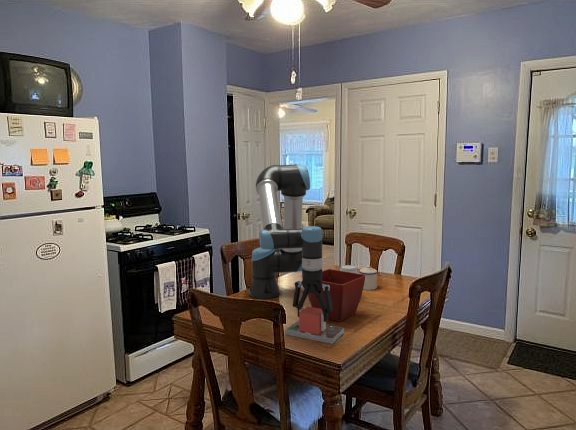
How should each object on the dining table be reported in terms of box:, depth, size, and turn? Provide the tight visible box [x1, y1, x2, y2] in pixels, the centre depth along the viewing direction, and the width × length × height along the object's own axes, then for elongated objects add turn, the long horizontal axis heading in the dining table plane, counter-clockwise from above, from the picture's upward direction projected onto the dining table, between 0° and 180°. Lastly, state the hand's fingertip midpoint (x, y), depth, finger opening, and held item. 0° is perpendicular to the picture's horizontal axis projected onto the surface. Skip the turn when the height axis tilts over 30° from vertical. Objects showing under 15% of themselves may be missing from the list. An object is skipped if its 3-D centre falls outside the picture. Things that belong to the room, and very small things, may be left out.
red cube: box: [298, 306, 323, 335], centre depth 162 cm, size 8×8×7 cm
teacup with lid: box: [357, 264, 378, 291], centre depth 220 cm, size 12×9×12 cm
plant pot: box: [307, 268, 365, 322], centre depth 182 cm, size 19×19×17 cm
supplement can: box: [339, 264, 358, 273], centre depth 204 cm, size 8×8×15 cm
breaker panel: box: [285, 319, 345, 345], centre depth 163 cm, size 19×11×3 cm, turn 62°
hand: (312, 327), depth 162 cm, fingers open, 8 cm apart
